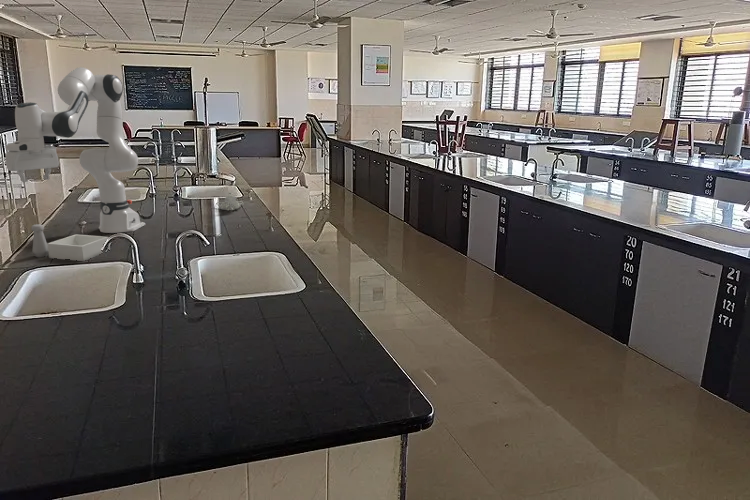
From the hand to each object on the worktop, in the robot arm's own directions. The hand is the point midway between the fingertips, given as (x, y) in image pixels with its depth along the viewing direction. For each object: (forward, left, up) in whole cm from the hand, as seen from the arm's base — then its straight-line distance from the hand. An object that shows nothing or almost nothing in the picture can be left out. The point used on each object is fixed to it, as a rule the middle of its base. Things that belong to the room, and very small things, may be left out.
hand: (35, 180), depth 230 cm
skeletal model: (-105, +30, -31) cm, 113 cm away
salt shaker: (+3, 0, -31) cm, 31 cm away
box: (-4, +13, -30) cm, 33 cm away
